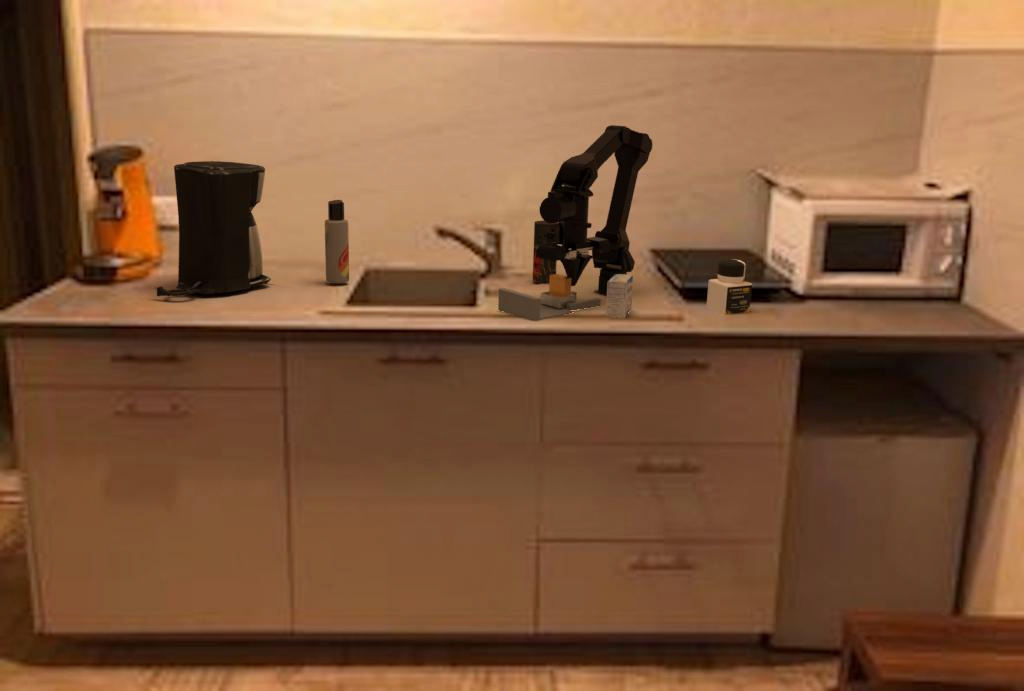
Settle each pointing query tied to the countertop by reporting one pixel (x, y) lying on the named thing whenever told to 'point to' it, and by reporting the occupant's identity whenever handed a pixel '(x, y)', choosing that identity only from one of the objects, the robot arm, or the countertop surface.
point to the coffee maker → (217, 227)
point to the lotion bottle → (336, 244)
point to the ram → (558, 292)
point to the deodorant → (541, 266)
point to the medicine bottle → (729, 289)
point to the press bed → (537, 305)
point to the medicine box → (619, 295)
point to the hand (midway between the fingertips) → (572, 285)
